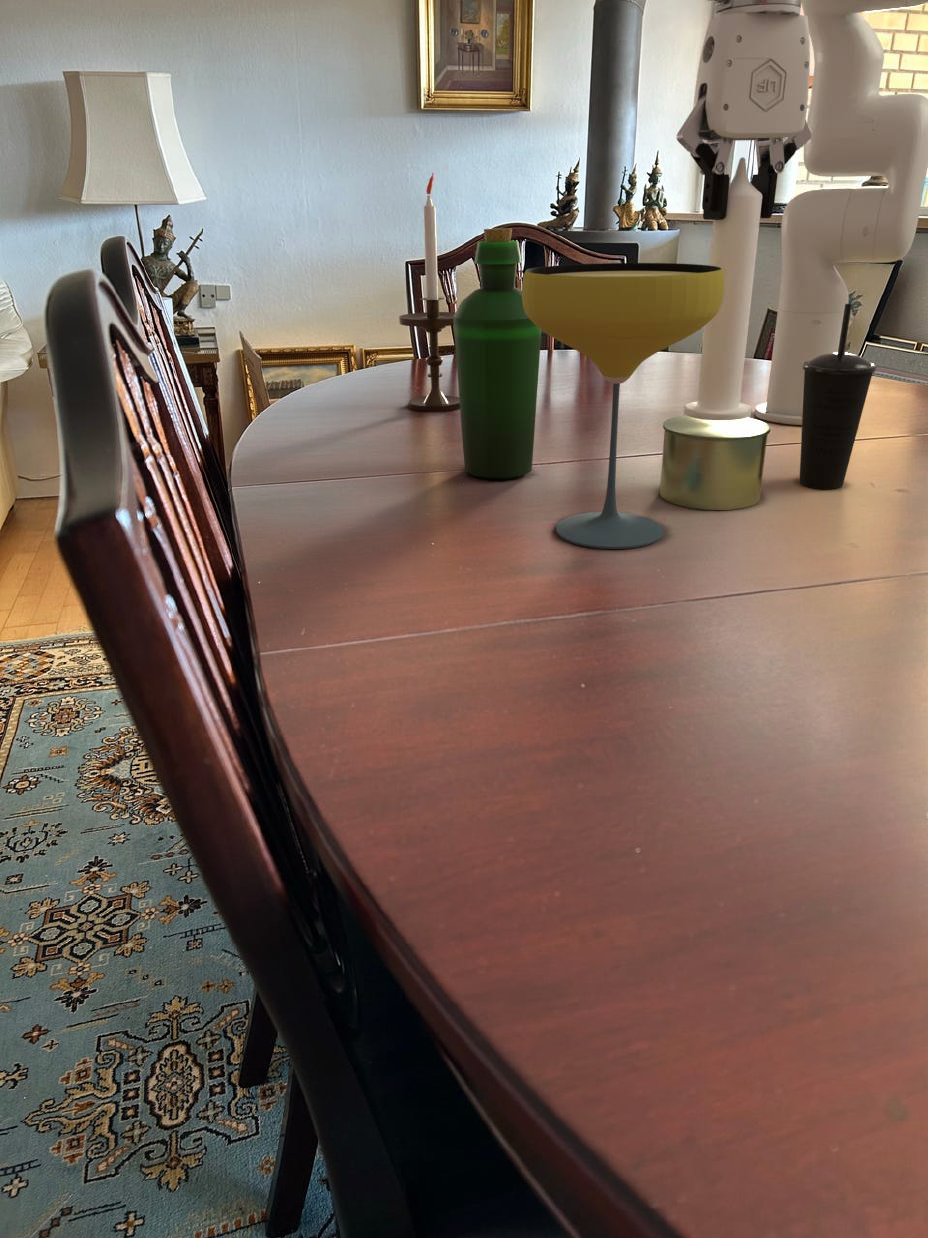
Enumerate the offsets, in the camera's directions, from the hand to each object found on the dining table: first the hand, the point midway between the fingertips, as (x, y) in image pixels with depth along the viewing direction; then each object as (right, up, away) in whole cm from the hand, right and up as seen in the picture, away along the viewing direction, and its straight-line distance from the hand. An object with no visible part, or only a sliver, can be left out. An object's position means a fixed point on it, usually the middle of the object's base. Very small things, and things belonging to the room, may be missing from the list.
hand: (737, 216), depth 89 cm
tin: (+1, -26, +12) cm, 29 cm away
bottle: (-23, -22, +23) cm, 39 cm away
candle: (0, -18, +8) cm, 20 cm away
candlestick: (-32, -5, +60) cm, 68 cm away
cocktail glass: (-13, -32, +2) cm, 34 cm away
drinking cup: (+15, -25, +16) cm, 33 cm away
